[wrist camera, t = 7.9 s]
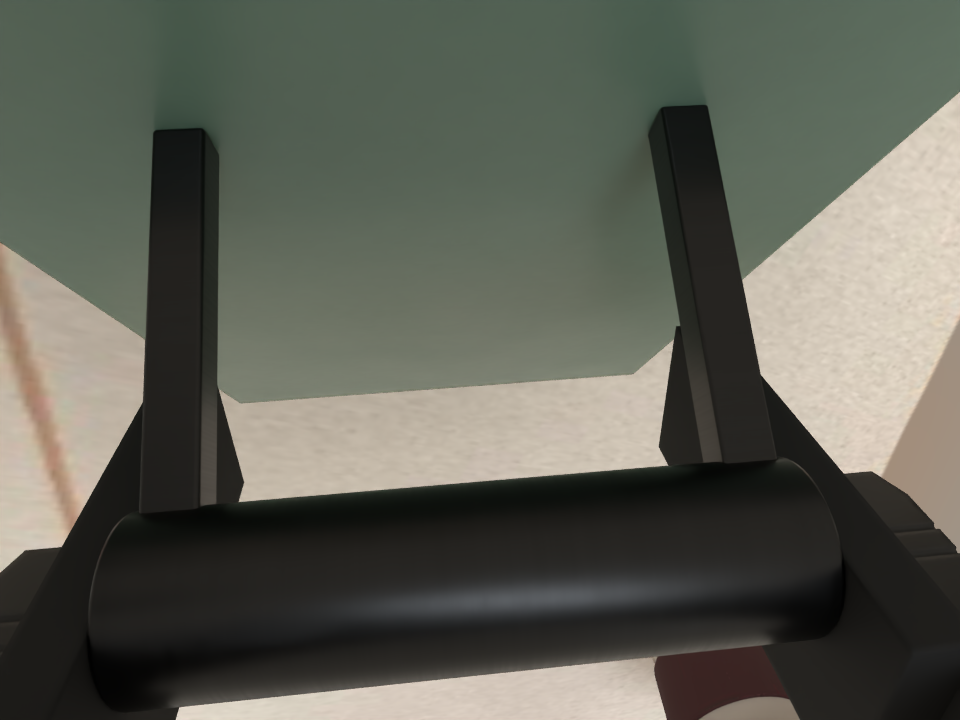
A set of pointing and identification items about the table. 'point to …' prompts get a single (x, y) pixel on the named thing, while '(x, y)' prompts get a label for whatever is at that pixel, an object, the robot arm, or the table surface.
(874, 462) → the table surface
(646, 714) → the table surface
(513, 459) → the table surface
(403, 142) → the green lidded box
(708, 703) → the coffee cup
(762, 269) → the table surface
